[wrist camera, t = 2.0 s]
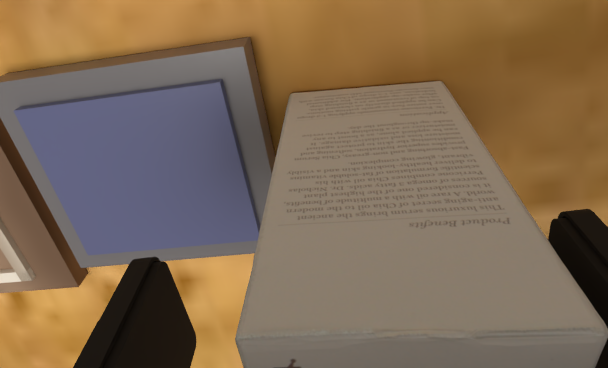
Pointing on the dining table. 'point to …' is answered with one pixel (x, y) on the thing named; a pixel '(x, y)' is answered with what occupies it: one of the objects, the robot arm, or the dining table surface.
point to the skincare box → (403, 247)
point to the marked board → (30, 231)
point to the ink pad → (147, 151)
